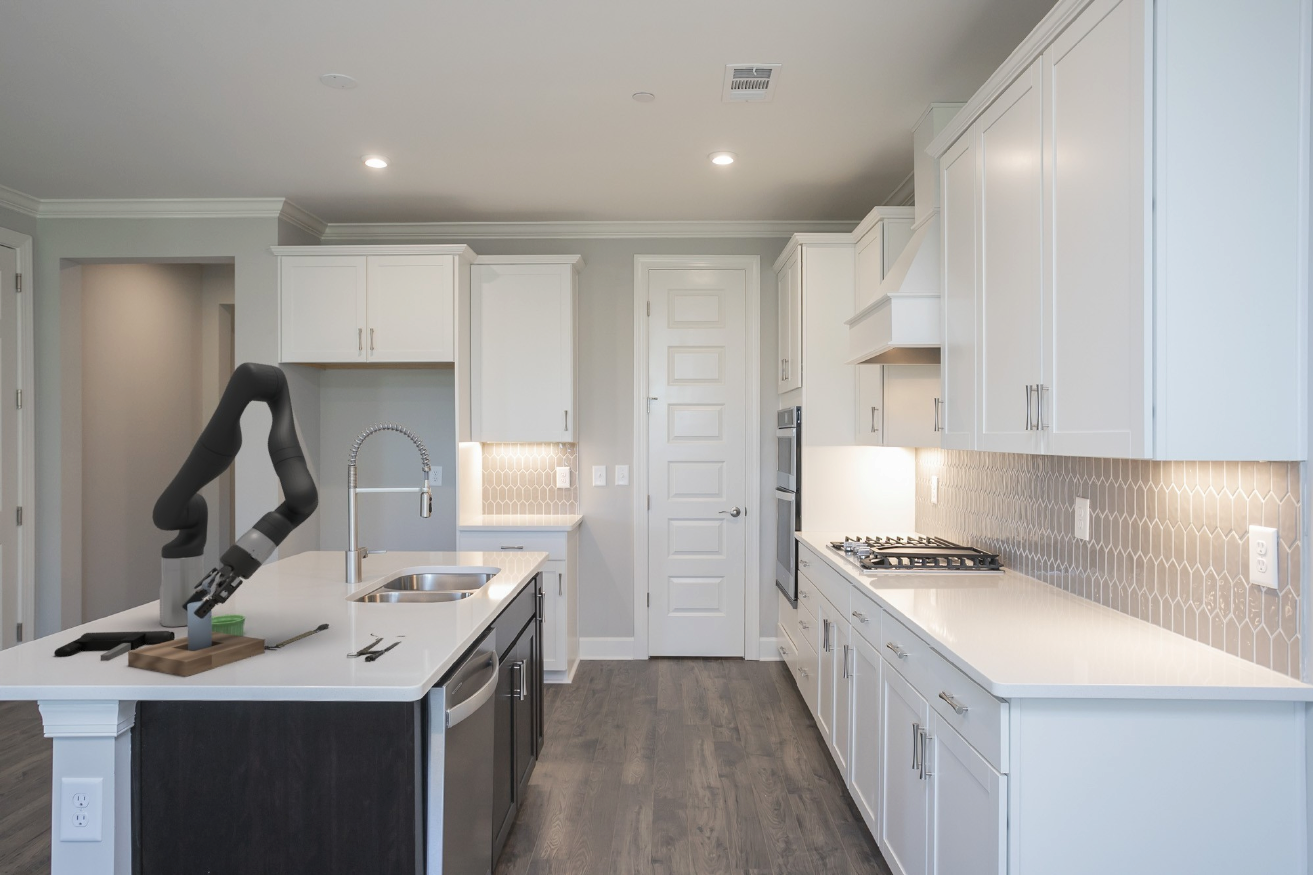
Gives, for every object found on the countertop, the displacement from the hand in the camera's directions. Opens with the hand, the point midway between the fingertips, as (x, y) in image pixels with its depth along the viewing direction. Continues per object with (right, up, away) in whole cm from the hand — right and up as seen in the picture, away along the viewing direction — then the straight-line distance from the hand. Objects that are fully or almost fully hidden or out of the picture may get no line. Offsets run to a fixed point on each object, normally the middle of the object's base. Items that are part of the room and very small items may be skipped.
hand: (191, 613), depth 162 cm
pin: (+1, -10, +1) cm, 10 cm away
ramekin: (-4, -10, +20) cm, 23 cm away
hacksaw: (+35, -11, +11) cm, 38 cm away
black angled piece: (-23, -11, +8) cm, 26 cm away
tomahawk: (+16, -11, +18) cm, 26 cm away
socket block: (+1, -10, +1) cm, 10 cm away
